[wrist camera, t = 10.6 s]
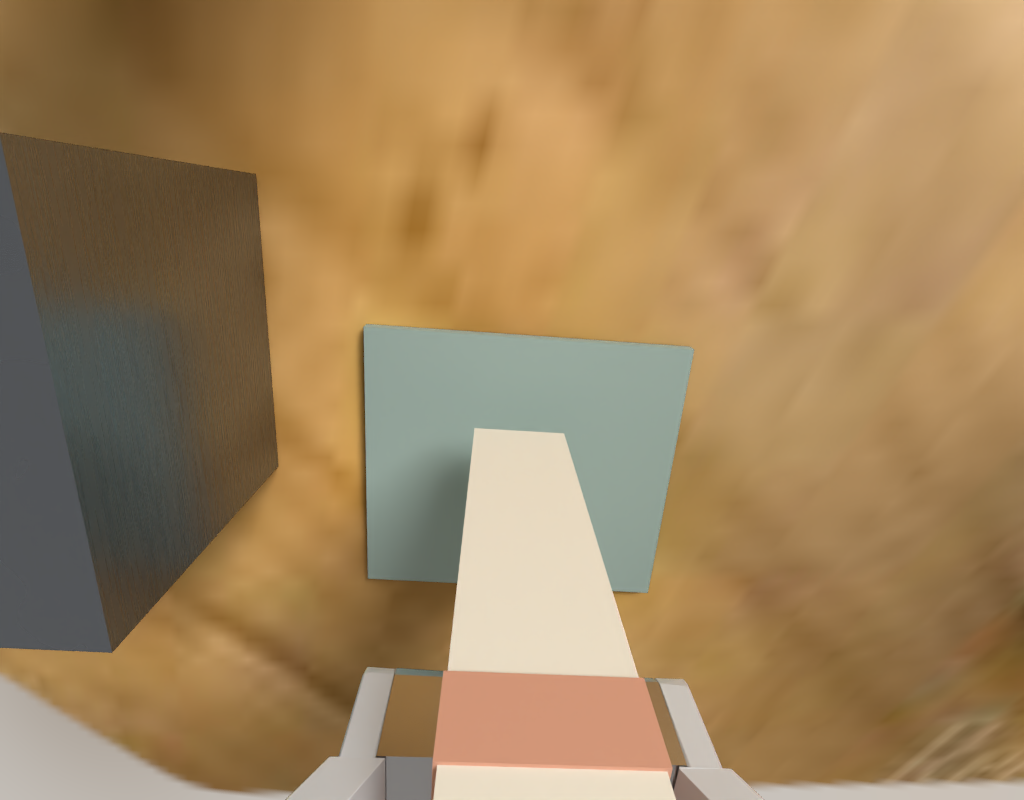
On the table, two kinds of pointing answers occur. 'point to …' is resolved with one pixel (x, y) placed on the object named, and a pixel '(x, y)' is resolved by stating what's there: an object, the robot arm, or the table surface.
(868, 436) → the table surface
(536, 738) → the white block
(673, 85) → the table surface
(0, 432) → the dispenser
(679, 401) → the mat
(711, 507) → the table surface
